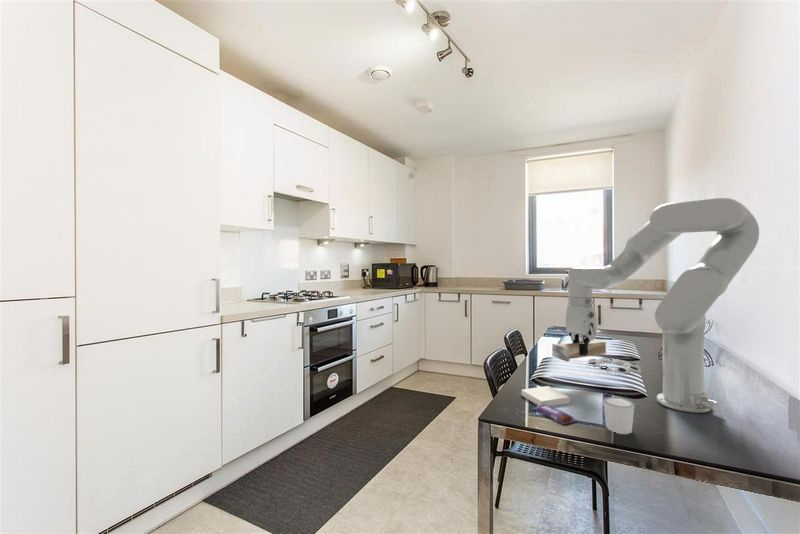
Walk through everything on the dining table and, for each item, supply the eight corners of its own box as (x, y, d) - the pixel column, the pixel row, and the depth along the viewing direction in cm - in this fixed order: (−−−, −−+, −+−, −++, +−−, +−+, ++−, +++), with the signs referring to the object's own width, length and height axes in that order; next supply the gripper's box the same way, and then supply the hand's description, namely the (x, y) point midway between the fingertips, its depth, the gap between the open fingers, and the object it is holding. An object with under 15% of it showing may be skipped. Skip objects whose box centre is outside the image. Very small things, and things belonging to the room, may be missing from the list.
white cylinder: (625, 423, 96) (625, 396, 96) (640, 435, 89) (640, 407, 89) (598, 422, 97) (598, 396, 96) (611, 435, 90) (610, 407, 90)
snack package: (531, 405, 106) (544, 402, 108) (532, 411, 106) (544, 408, 108) (564, 421, 95) (578, 417, 97) (564, 428, 95) (578, 424, 97)
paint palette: (627, 361, 152) (627, 356, 152) (653, 376, 132) (653, 371, 132) (577, 360, 155) (577, 355, 154) (596, 375, 135) (596, 370, 135)
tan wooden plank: (610, 355, 127) (611, 343, 127) (566, 361, 122) (566, 348, 122) (594, 350, 134) (594, 338, 134) (552, 356, 129) (552, 343, 128)
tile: (569, 397, 110) (541, 401, 107) (569, 404, 110) (541, 408, 107) (548, 385, 119) (521, 389, 117) (548, 392, 119) (521, 396, 117)
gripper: (607, 304, 121) (607, 358, 121) (571, 298, 136) (571, 347, 137) (589, 305, 118) (589, 361, 119) (555, 299, 134) (555, 349, 134)
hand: (580, 353), depth 128 cm, fingers closed on tan wooden plank, 2 cm apart
